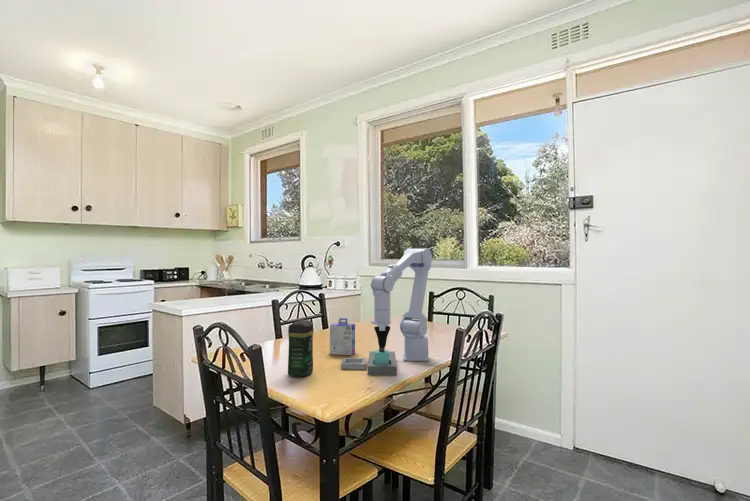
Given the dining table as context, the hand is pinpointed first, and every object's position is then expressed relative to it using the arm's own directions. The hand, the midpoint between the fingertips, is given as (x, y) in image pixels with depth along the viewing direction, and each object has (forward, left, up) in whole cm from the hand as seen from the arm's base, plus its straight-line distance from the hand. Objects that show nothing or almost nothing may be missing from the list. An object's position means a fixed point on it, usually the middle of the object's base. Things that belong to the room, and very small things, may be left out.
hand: (382, 346), depth 144 cm
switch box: (0, -5, -8) cm, 10 cm away
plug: (0, 0, -9) cm, 9 cm away
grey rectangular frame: (+10, -5, -8) cm, 14 cm away
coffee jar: (+28, +4, -9) cm, 30 cm away
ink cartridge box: (+16, -23, -9) cm, 30 cm away
